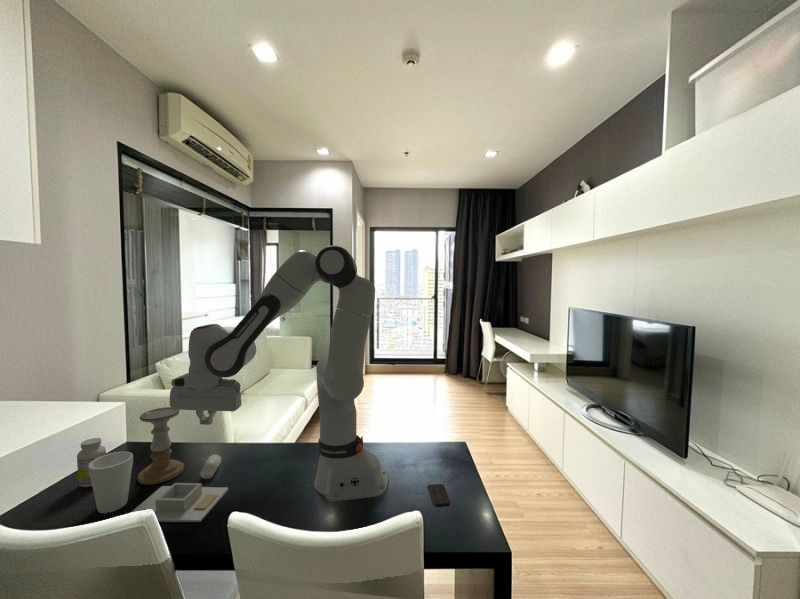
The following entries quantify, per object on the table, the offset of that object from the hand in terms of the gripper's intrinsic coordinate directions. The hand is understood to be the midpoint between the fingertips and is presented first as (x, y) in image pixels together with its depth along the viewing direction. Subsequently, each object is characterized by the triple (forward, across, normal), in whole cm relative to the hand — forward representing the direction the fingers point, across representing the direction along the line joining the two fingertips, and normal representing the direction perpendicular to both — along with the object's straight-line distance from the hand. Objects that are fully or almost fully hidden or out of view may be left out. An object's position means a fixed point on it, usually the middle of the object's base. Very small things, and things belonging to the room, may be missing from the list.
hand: (206, 423), depth 103 cm
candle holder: (+20, +19, -6) cm, 28 cm away
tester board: (+20, +2, +9) cm, 22 cm away
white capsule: (+18, +2, -4) cm, 18 cm away
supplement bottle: (+20, +36, -1) cm, 42 cm away
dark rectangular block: (+20, -70, +4) cm, 73 cm away
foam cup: (+20, +21, +10) cm, 30 cm away
